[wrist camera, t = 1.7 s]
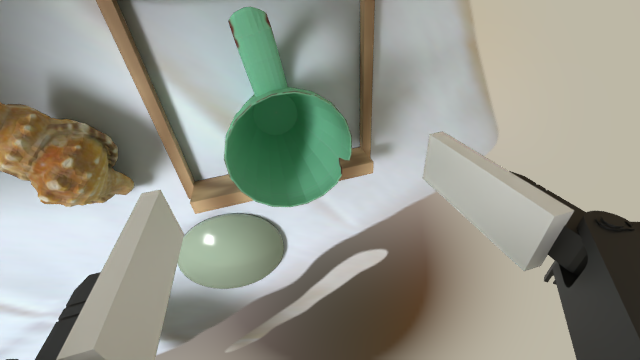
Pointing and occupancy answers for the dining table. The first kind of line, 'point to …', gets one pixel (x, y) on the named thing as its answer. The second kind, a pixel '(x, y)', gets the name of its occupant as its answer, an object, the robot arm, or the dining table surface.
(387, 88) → the dining table surface
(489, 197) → the robot arm
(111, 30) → the oak frame
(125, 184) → the seashell
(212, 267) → the coaster
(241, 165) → the mug
